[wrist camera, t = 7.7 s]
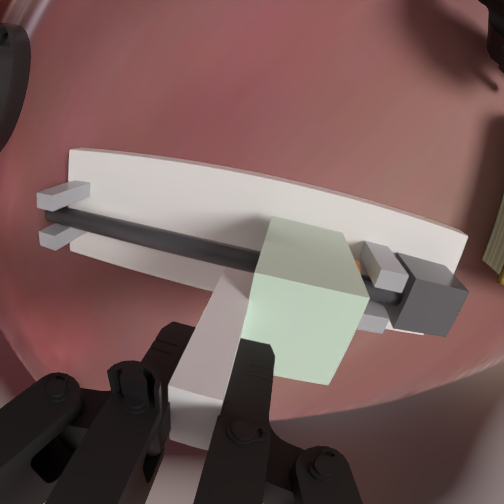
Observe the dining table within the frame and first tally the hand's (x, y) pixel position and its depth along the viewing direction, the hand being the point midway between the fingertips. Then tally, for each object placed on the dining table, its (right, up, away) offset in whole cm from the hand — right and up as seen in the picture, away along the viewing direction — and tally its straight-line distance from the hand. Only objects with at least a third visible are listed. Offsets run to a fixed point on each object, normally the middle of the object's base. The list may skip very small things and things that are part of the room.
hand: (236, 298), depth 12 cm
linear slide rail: (+1, +3, +7) cm, 8 cm away
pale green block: (+3, +2, +4) cm, 6 cm away
